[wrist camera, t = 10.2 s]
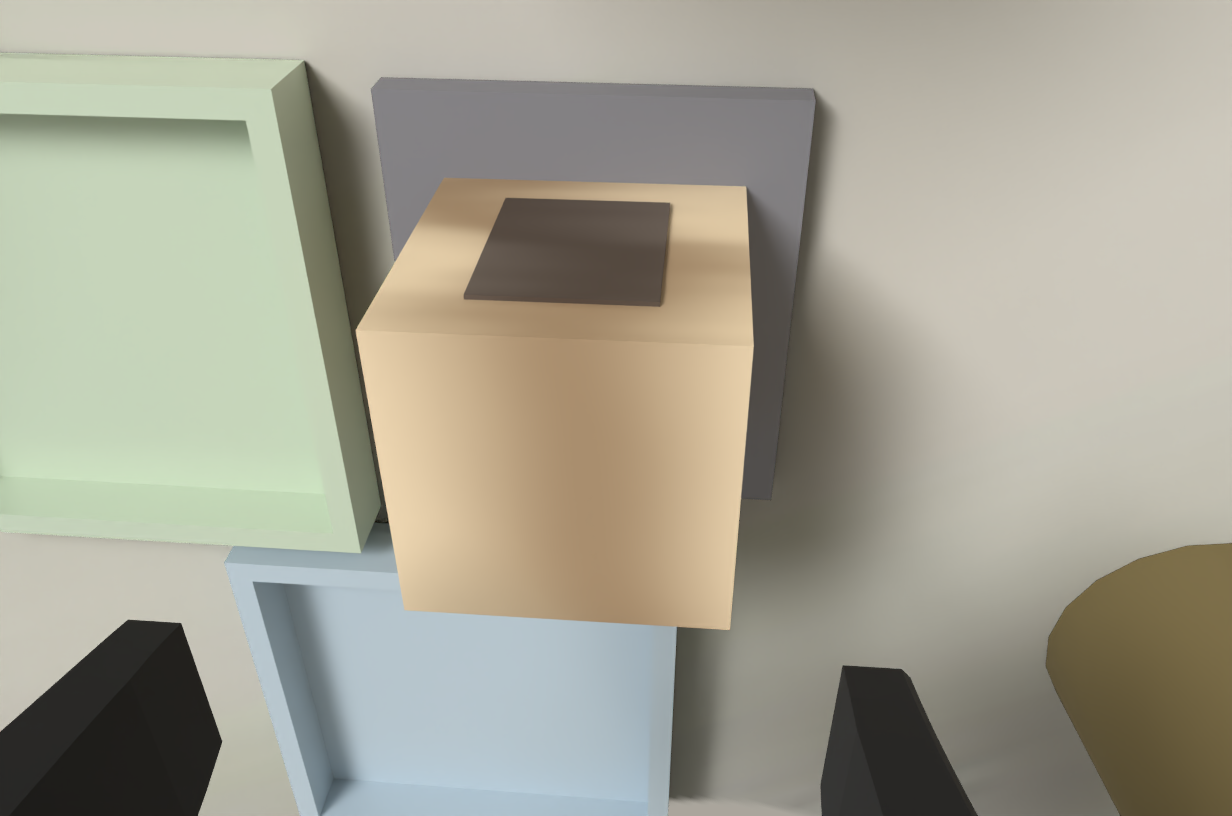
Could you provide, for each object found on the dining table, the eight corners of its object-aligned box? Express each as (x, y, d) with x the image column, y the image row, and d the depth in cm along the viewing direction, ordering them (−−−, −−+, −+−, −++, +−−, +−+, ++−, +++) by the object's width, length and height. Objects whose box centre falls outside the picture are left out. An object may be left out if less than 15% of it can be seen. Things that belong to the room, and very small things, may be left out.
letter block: (469, 422, 20) (404, 610, 16) (443, 174, 17) (354, 325, 13) (728, 434, 19) (730, 629, 15) (746, 182, 17) (754, 340, 12)
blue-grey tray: (321, 779, 28) (303, 828, 27) (251, 515, 23) (224, 562, 21) (668, 805, 27) (666, 857, 26) (680, 540, 22) (678, 590, 21)
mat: (431, 463, 21) (425, 481, 21) (381, 77, 17) (370, 88, 16) (770, 481, 21) (771, 500, 20) (812, 88, 16) (815, 100, 16)
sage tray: (-37, 482, 23) (-80, 526, 22) (-242, 46, 17) (-315, 73, 16) (381, 505, 22) (361, 553, 21) (304, 59, 17) (270, 88, 15)
